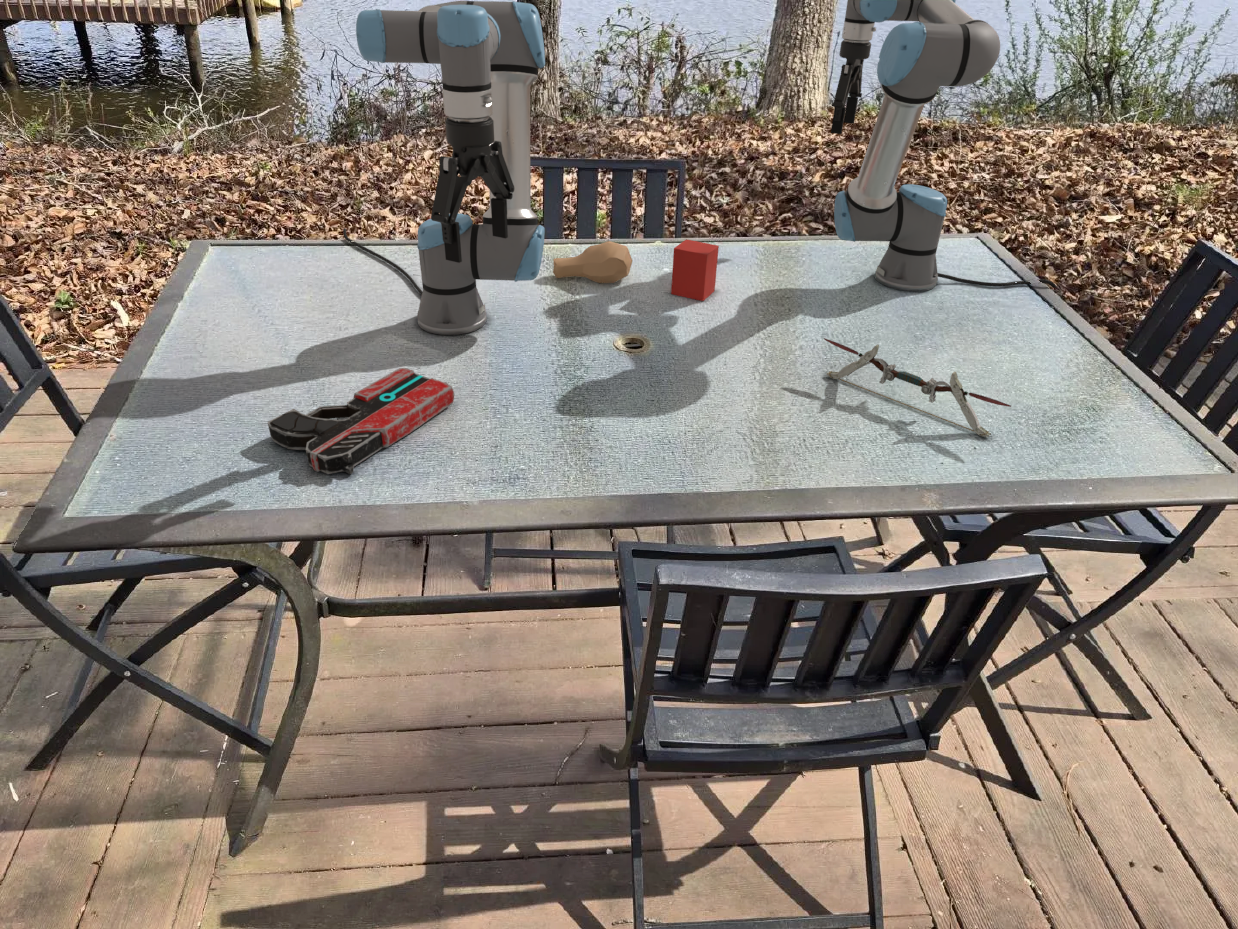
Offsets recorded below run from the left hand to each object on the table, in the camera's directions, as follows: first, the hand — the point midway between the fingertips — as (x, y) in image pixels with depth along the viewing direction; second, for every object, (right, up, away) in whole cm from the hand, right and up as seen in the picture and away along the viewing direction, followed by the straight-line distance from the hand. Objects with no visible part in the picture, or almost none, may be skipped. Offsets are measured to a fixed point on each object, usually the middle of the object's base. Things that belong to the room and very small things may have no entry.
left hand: (477, 248), depth 149 cm
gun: (-22, -30, +10) cm, 38 cm away
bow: (+79, -25, +21) cm, 86 cm away
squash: (+17, +10, +71) cm, 74 cm away
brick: (+42, +5, +65) cm, 78 cm away
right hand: (+84, +53, +85) cm, 131 cm away
